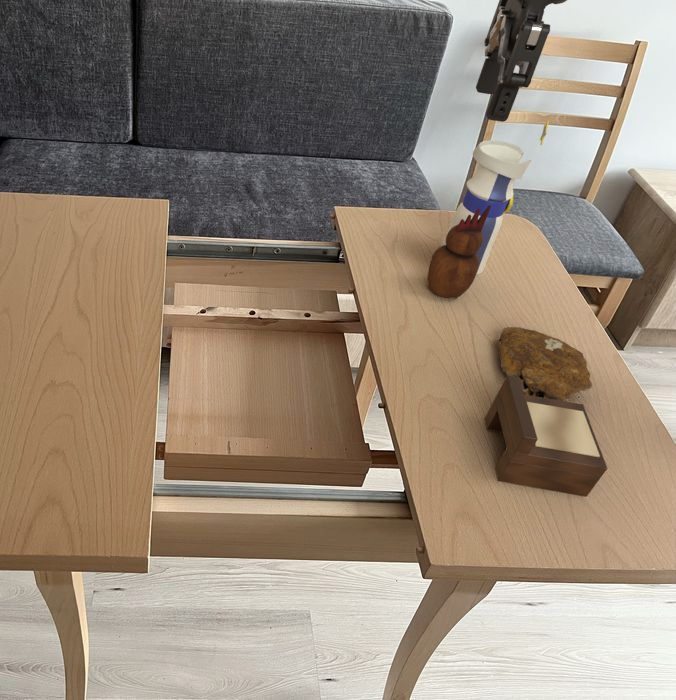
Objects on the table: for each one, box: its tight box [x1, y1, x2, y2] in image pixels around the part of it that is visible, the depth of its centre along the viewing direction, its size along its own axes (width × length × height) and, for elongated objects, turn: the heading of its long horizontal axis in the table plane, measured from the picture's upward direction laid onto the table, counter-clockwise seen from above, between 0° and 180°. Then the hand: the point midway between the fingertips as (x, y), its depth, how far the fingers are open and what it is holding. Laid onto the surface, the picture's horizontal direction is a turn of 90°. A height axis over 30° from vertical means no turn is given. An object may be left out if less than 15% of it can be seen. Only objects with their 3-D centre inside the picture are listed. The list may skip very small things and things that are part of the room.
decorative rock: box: [497, 326, 593, 401], centre depth 92 cm, size 11×4×15 cm
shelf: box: [484, 374, 608, 497], centre depth 80 cm, size 10×10×8 cm
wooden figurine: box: [427, 205, 491, 299], centre depth 102 cm, size 7×6×15 cm
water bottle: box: [441, 120, 550, 276], centre depth 106 cm, size 8×9×25 cm
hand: (489, 105), depth 78 cm, fingers open, 8 cm apart
